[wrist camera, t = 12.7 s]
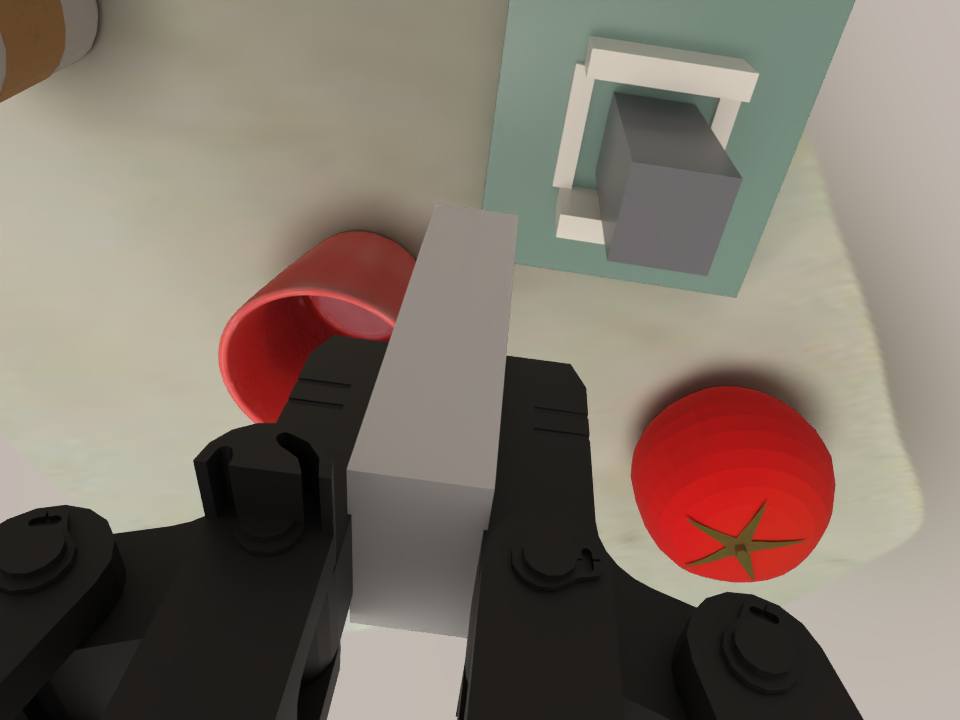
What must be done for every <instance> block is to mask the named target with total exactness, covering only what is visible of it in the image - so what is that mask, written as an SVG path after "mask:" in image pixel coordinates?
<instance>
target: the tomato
mask: <svg viewBox="0 0 960 720" xmlns="http://www.w3.org/2000/svg"><path fill="white" fill-rule="evenodd" d="M631 480H632V485H633V490H634V495H635V500H636V503H637V506H638V509H639V511H640V514H641V517H642V519H643V522H644V525H645V527H646V529H647V530H648V532H649V534H650V535H651V537H652V539H653V540H654V541H655V543H656V544H657V546H658V547H659V549H660V550H661V551H663V552H664V553H665V554H666V555H667V556H668V557H669V558H670V559H671V560H673V561H674V562H675V563H676V564H677V565H678V566H680V567H681V568H682V569H685V570H687V571H689V572H690V573H693V574H696V575H700V576H703V577H706V578H711V579H715V580H720V581H728V582H756V581H764V580H769V579H772V578H775V577H778V576H781V575H784V574H785V573H787V572H789V571H790V570H792V569H794V568H795V567H797V566H798V565H799V564H800V563H801V562H802V561H803V560H805V559H806V558H807V557H808V556H809V554H810V553H811V552H812V551H813V549H814V548H815V547H816V545H817V544H818V542H819V541H820V539H821V537H822V536H823V534H824V532H825V530H826V528H827V526H828V524H829V521H830V518H831V515H832V510H833V501H834V493H835V478H834V471H833V464H832V458H831V455H830V453H829V451H828V450H827V448H826V446H825V444H824V442H823V441H822V439H821V438H820V436H819V435H818V433H817V432H816V430H815V429H814V428H813V427H812V426H811V425H810V424H809V423H808V422H807V421H806V420H805V419H804V418H803V417H802V416H801V415H800V414H799V413H798V412H797V411H796V410H795V409H793V408H791V407H790V406H788V405H787V404H785V403H783V402H782V401H780V400H778V399H776V398H774V397H772V396H770V395H767V394H765V393H763V392H760V391H758V390H753V389H748V388H742V387H733V386H719V387H712V388H706V389H703V390H700V391H698V392H695V393H692V394H690V395H688V396H686V397H684V398H681V399H679V400H678V401H676V402H674V403H673V404H671V405H669V406H668V407H667V408H666V409H664V410H663V411H662V412H661V413H660V414H659V415H658V416H657V417H655V418H654V419H653V420H652V422H651V423H650V424H649V425H648V427H647V428H646V429H645V431H644V432H643V434H642V436H641V438H640V440H639V442H638V444H637V446H636V448H635V450H634V453H633V459H632V467H631Z"/></svg>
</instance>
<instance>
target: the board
mask: <svg viewBox="0 0 960 720" xmlns="http://www.w3.org/2000/svg"><path fill="white" fill-rule="evenodd" d="M854 2H855V0H510V1H509V9H508V16H507V24H506V32H505V39H504V47H503V54H502V62H501V69H500V77H499V85H498V92H497V100H496V107H495V115H494V123H493V130H492V138H491V145H490V153H489V160H488V168H487V176H486V183H485V191H484V198H483V206H482V210H487V211H494V212H502V213H509V214H517V215H518V227H517V238H516V250H515V261H514V264H521V265H527V266H534V267H540V268H547V269H553V270H560V271H566V272H573V273H579V274H586V275H592V276H599V277H605V278H612V279H618V280H625V281H631V282H638V283H644V284H651V285H657V286H664V287H670V288H677V289H683V290H690V291H696V292H703V293H709V294H716V295H722V296H729V297H735V298H736V297H737V295H738V292H739V290H740V287H741V285H742V282H743V280H744V277H745V275H746V272H747V270H748V267H749V265H750V262H751V260H752V257H753V255H754V252H755V250H756V247H757V245H758V242H759V240H760V237H761V235H762V232H763V230H764V227H765V225H766V222H767V220H768V217H769V215H770V212H771V210H772V207H773V205H774V202H775V200H776V197H777V195H778V192H779V190H780V187H781V185H782V182H783V180H784V177H785V175H786V172H787V170H788V167H789V165H790V162H791V160H792V157H793V155H794V152H795V150H796V147H797V145H798V142H799V140H800V137H801V135H802V133H803V130H804V128H805V125H806V123H807V120H808V118H809V115H810V112H811V110H812V108H813V105H814V102H815V100H816V97H817V95H818V93H819V90H820V87H821V85H822V83H823V80H824V78H825V75H826V72H827V70H828V68H829V65H830V63H831V60H832V57H833V55H834V53H835V50H836V48H837V45H838V43H839V40H840V38H841V35H842V33H843V30H844V28H845V25H846V23H847V20H848V17H849V15H850V13H851V10H852V8H853V5H854ZM614 92H615V93H622V94H628V95H635V96H642V97H648V98H655V99H661V100H668V101H674V102H681V103H687V104H694V105H696V106H697V107H698V109H699V110H700V112H701V114H702V115H703V117H704V118H705V120H706V121H707V123H708V125H709V126H710V128H711V129H712V131H713V132H714V134H715V136H716V137H717V139H718V140H719V142H720V144H721V145H722V147H723V148H724V150H725V151H726V153H727V155H728V156H729V158H730V159H731V161H732V162H733V164H734V166H735V167H736V169H737V170H738V172H739V174H740V175H741V177H742V178H743V180H742V182H741V185H740V188H739V191H738V193H737V196H736V199H735V202H734V204H733V207H732V210H731V213H730V215H729V218H728V221H727V224H726V226H725V229H724V232H723V235H722V237H721V240H720V243H719V246H718V248H717V251H716V254H715V257H714V259H713V262H712V265H711V268H710V270H709V273H708V276H702V275H696V274H689V273H683V272H676V271H670V270H663V269H657V268H650V267H644V266H637V265H631V264H624V263H618V262H611V261H607V258H606V250H605V243H604V235H603V228H602V220H601V213H600V205H599V197H598V190H597V182H596V175H595V171H596V167H597V163H598V158H599V154H600V149H601V145H602V141H603V136H604V132H605V128H606V123H607V119H608V115H609V110H610V106H611V101H612V97H613V93H614Z"/></svg>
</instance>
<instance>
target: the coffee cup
mask: <svg viewBox="0 0 960 720" xmlns="http://www.w3.org/2000/svg"><path fill="white" fill-rule="evenodd" d="M97 28H98V8H97V2H96V0H0V102H2V101H4V100H6V99H8V98H10V97H12V96H14V95H16V94H18V93H20V92H22V91H24V90H25V89H27V88H29V87H31V86H33V85H35V84H37V83H39V82H41V81H43V80H44V79H46V78H48V77H50V76H51V74H53V73H55V72H56V71H58V70H60V69H62V68H64V67H66V66H68V65H70V64H72V63H74V62H76V61H78V60H80V59H81V58H83V57H84V56H85V54H86V53H87V52H88V51H89V50H90V48H91V47H92V44H93V42H94V39H95V36H96V33H97Z"/></svg>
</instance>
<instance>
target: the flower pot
mask: <svg viewBox="0 0 960 720" xmlns="http://www.w3.org/2000/svg"><path fill="white" fill-rule="evenodd" d="M415 263H416V260H415V259H414V257H413V256H412V255H411V254H410V253H409V252H408V251H407V250H405V249H404V248H403V247H401V246H400V245H399V244H397V243H396V242H394V241H392V240H390V239H387V238H385V237H383V236H380V235H378V234H375V233H370V232H362V231H351V232H344V233H340V234H337V235H334V236H331V237H329V238H328V239H326V240H324V241H323V242H321V243H320V244H319V245H317V246H316V247H314V248H313V249H312V250H310V251H309V252H307V253H306V254H305V255H303V256H302V257H301V258H299V259H298V260H297V261H295V262H294V263H293V264H291V265H290V266H289V267H287V268H286V269H285V270H284V271H283V272H281V273H280V274H279V275H278V276H277V277H275V278H274V279H273V280H272V281H270V282H269V283H268V284H267V285H266V286H265V287H263V288H262V289H261V290H260V291H259V292H257V293H256V294H255V295H254V296H253V297H252V298H250V299H249V300H248V301H247V302H246V303H245V304H244V305H243V306H242V307H241V308H240V309H238V310H237V312H236V313H235V314H234V315H233V316H232V317H231V319H230V320H229V322H228V323H227V325H226V327H225V329H224V331H223V333H222V336H221V339H220V343H219V353H218V354H219V367H220V372H221V375H222V378H223V381H224V384H225V386H226V388H227V390H228V392H229V394H230V395H231V397H232V398H233V400H234V401H235V402H236V404H237V405H238V407H239V408H240V409H241V410H242V411H243V412H244V413H245V414H246V415H247V416H248V417H249V418H250V419H251V420H252V421H253V422H254V423H276V422H277V420H278V418H279V416H280V414H281V412H282V410H283V408H284V406H285V404H286V403H288V400H289V396H290V394H291V391H292V389H293V387H294V385H295V383H296V382H298V377H299V375H300V373H301V371H302V369H303V367H304V365H305V363H306V361H307V359H308V357H309V355H310V353H311V352H313V351H314V350H315V349H317V348H318V347H319V346H320V345H322V344H323V343H324V342H325V341H327V340H328V339H329V338H331V337H332V336H333V335H338V336H345V337H353V338H360V339H368V340H376V341H383V342H389V341H390V338H391V335H392V332H393V329H394V326H395V323H396V320H397V317H398V314H399V311H400V308H401V305H402V302H403V299H404V296H405V293H406V290H407V287H408V284H409V281H410V278H411V275H412V272H413V269H414V266H415Z"/></svg>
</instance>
